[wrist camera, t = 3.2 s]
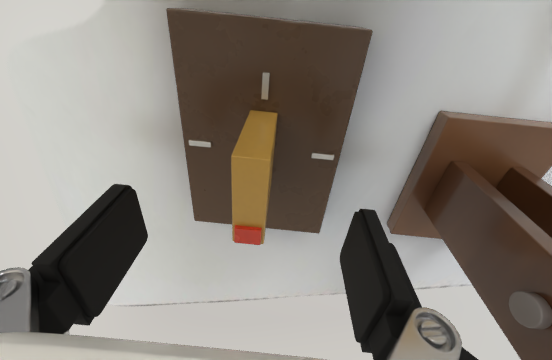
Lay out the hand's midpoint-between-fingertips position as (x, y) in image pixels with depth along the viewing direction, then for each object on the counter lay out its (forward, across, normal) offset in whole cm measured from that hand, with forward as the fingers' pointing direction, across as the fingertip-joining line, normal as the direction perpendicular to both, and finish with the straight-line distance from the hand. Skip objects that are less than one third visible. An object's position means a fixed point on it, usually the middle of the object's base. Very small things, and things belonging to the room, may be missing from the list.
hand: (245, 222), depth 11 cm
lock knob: (+6, 0, 0) cm, 6 cm away
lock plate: (+8, 0, 0) cm, 8 cm away
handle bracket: (+8, -15, +2) cm, 17 cm away
